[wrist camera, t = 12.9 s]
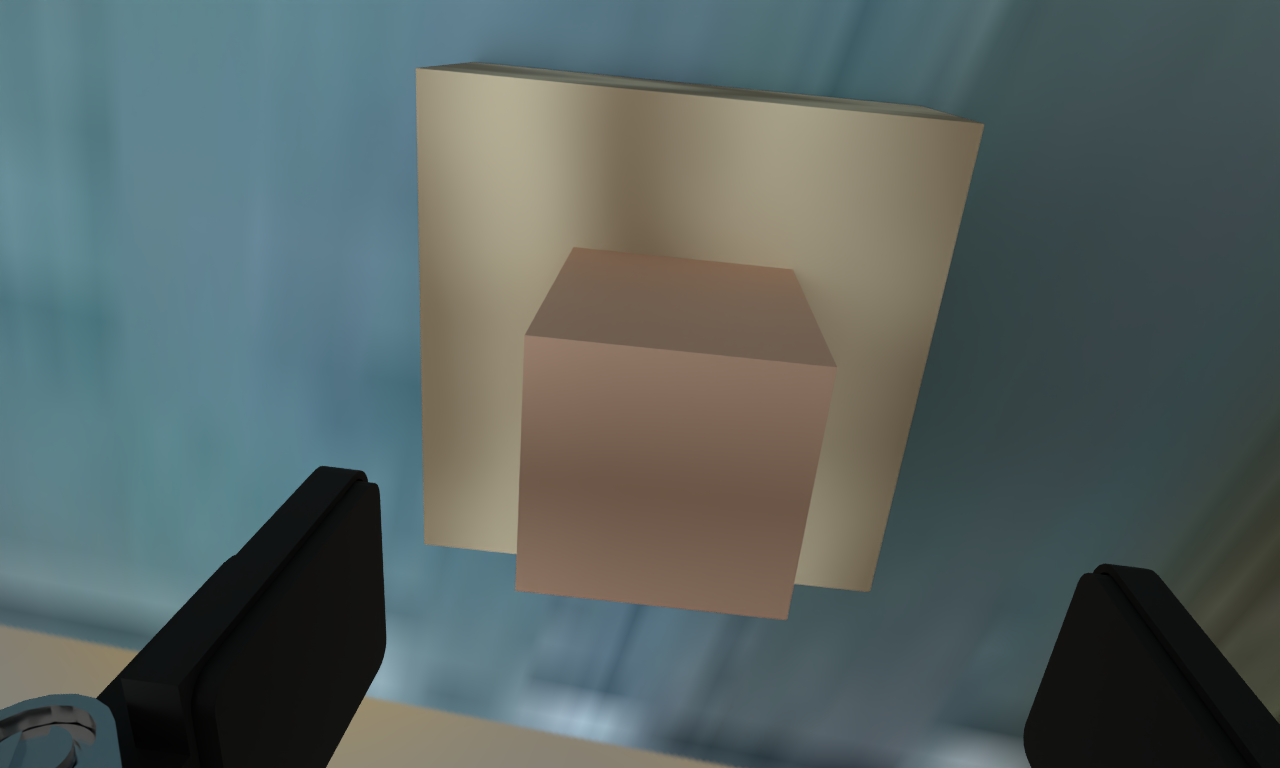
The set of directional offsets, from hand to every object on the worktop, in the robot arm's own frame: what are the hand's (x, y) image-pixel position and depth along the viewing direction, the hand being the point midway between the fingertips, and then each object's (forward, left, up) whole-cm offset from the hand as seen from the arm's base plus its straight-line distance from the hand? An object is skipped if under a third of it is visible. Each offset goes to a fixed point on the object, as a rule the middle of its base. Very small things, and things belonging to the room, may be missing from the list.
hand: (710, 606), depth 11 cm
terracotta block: (+1, 0, -9) cm, 9 cm away
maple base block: (+1, 0, -14) cm, 14 cm away
